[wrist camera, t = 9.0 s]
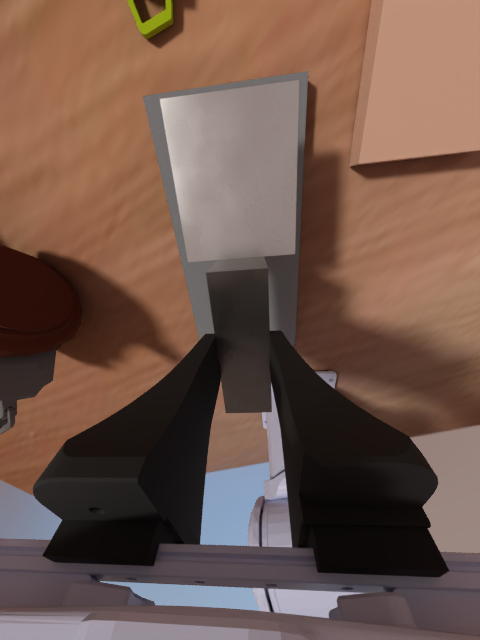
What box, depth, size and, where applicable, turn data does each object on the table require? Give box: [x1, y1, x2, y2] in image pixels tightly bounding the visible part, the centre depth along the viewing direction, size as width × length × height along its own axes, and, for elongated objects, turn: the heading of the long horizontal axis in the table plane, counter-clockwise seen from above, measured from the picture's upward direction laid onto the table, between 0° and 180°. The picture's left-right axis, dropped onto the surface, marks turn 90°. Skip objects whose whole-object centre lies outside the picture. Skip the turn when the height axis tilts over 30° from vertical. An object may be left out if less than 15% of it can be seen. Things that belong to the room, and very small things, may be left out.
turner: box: [160, 80, 299, 413], centre depth 11 cm, size 15×6×4 cm, turn 5°
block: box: [349, 0, 480, 166], centre depth 11 cm, size 2×7×7 cm
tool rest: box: [143, 71, 308, 346], centre depth 17 cm, size 18×9×1 cm, turn 5°
